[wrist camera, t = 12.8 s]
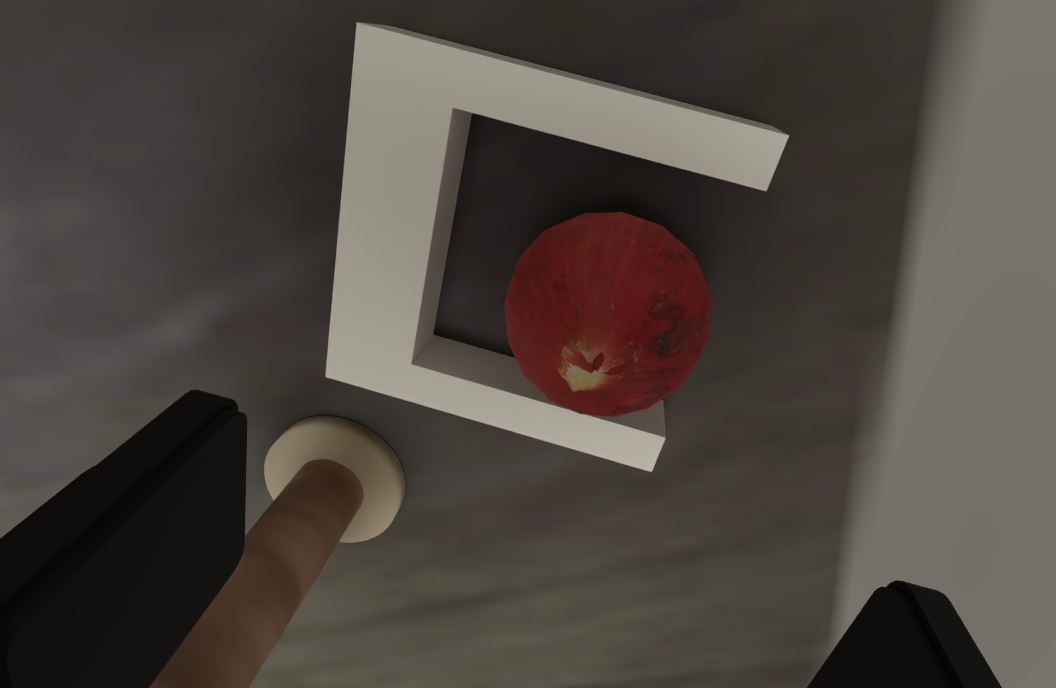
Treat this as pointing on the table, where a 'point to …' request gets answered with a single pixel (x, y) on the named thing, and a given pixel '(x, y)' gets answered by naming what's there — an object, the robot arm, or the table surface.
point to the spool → (290, 546)
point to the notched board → (429, 205)
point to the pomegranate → (607, 313)
